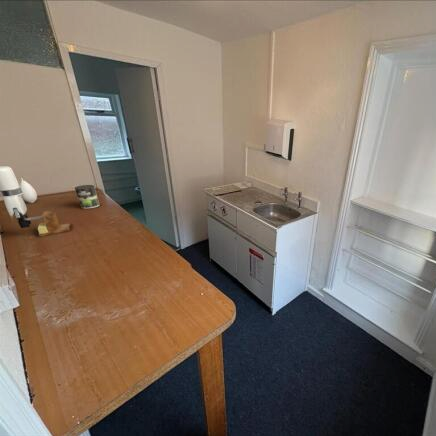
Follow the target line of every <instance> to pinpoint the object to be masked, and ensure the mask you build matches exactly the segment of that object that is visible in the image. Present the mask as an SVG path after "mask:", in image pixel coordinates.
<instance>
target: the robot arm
mask: <svg viewBox="0 0 436 436" xmlns="http://www.w3.org/2000/svg"><path fill="white" fill-rule="evenodd" d="M19 185H20V183H19V181H18V179H17V176H16V175H15V172H14V170H13V168H12V167H10V166H9V165H7V166H6V165H0V198H2V200H3V203H4V205H5V209H6V210H7V212H8V215H9V216H10V217H15V218H16V221H17V223H18V225H19V227H20V229H27V228H30V226H31V224H32V222H31V220H29V221H27V220H26V218H30V217H29V216H28V214H27V211H28V208H27V205H26V202H25V201H24V200H23V198H22V196H21V194H23V192H22V190H21V188H20V186H19Z"/></svg>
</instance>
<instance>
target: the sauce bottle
mask: <svg viewBox="0 0 436 436" xmlns="http://www.w3.org/2000/svg"><path fill="white" fill-rule="evenodd" d="M20 178H21V181H20V183H19V186H20V188H21V190H22V192H23V194H21V196H22V198H23V201H24V202H25V203H29V204H32V203H33V204H34V203H35V202H36V201H37V199H38V195H37V194H38V193H37V192H36V190H35V188H34V187H33V186H32V185H31V184H30V183H29V182H27V181H26V180H24V179H23V178H22V177H20Z"/></svg>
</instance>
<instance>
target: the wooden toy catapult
mask: <svg viewBox="0 0 436 436" xmlns="http://www.w3.org/2000/svg"><path fill="white" fill-rule="evenodd" d="M51 212H52V213H51ZM45 213H47V214H45ZM41 216H43V218H42V219H43V221H44V223H46V226H47V228H48V232H47V233H42V234H40V233H39V232H38V234H37V235H38V237H44V236H48V235H54V234H60V233H64V232H70V231H71V223H63V224H60V222H59V221H60V220H59V219H58V216H57V214H56V210H55V209H54V210H46V211H42V214H41Z"/></svg>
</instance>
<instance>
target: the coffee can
mask: <svg viewBox="0 0 436 436" xmlns="http://www.w3.org/2000/svg"><path fill="white" fill-rule="evenodd" d="M74 190H75V193H76V196H77V199H78V202H79V205H80V208H81V209H83V210H84V209H85V210H86V209H94V208H97V207H100V201H99V199H98V198H99V197H98V195H97V191H96V188H95V185H93V184H83V185H78V186H75V187H74Z"/></svg>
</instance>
